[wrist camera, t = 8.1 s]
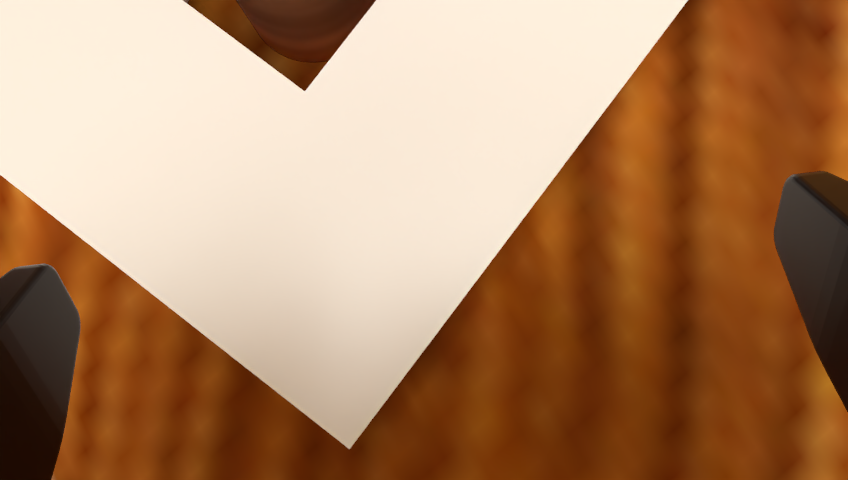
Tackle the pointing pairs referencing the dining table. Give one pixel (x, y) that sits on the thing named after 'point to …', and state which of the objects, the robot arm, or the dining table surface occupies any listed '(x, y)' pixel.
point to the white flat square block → (309, 165)
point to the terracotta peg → (305, 25)
